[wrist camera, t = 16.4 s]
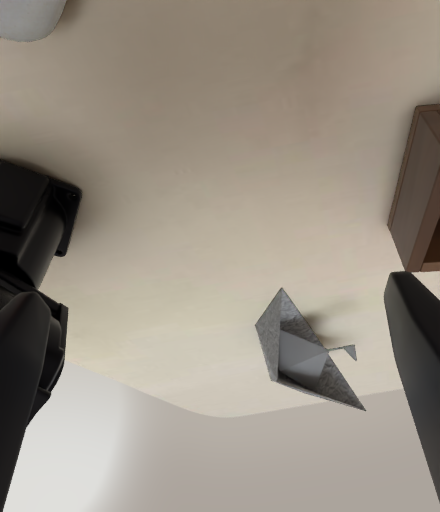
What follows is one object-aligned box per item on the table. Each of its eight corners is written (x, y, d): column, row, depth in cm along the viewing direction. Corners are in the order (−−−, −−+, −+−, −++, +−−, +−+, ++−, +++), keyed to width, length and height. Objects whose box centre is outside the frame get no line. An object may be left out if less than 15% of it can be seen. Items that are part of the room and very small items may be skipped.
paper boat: (211, 329, 33) (284, 304, 26) (253, 288, 37) (326, 257, 30) (292, 439, 34) (385, 445, 27) (325, 388, 38) (413, 380, 31)
